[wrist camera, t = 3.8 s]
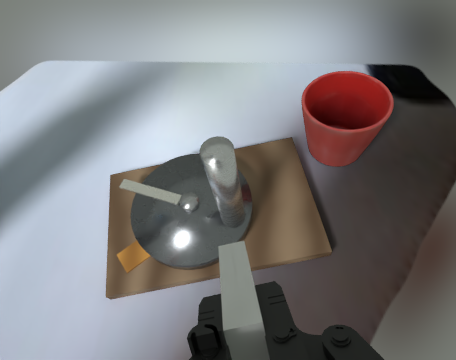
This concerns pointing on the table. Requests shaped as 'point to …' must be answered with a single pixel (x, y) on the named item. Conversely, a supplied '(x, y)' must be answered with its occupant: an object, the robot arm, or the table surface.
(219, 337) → the robot arm
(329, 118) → the flower pot
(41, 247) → the table surface
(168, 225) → the wheel
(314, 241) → the walnut base board
